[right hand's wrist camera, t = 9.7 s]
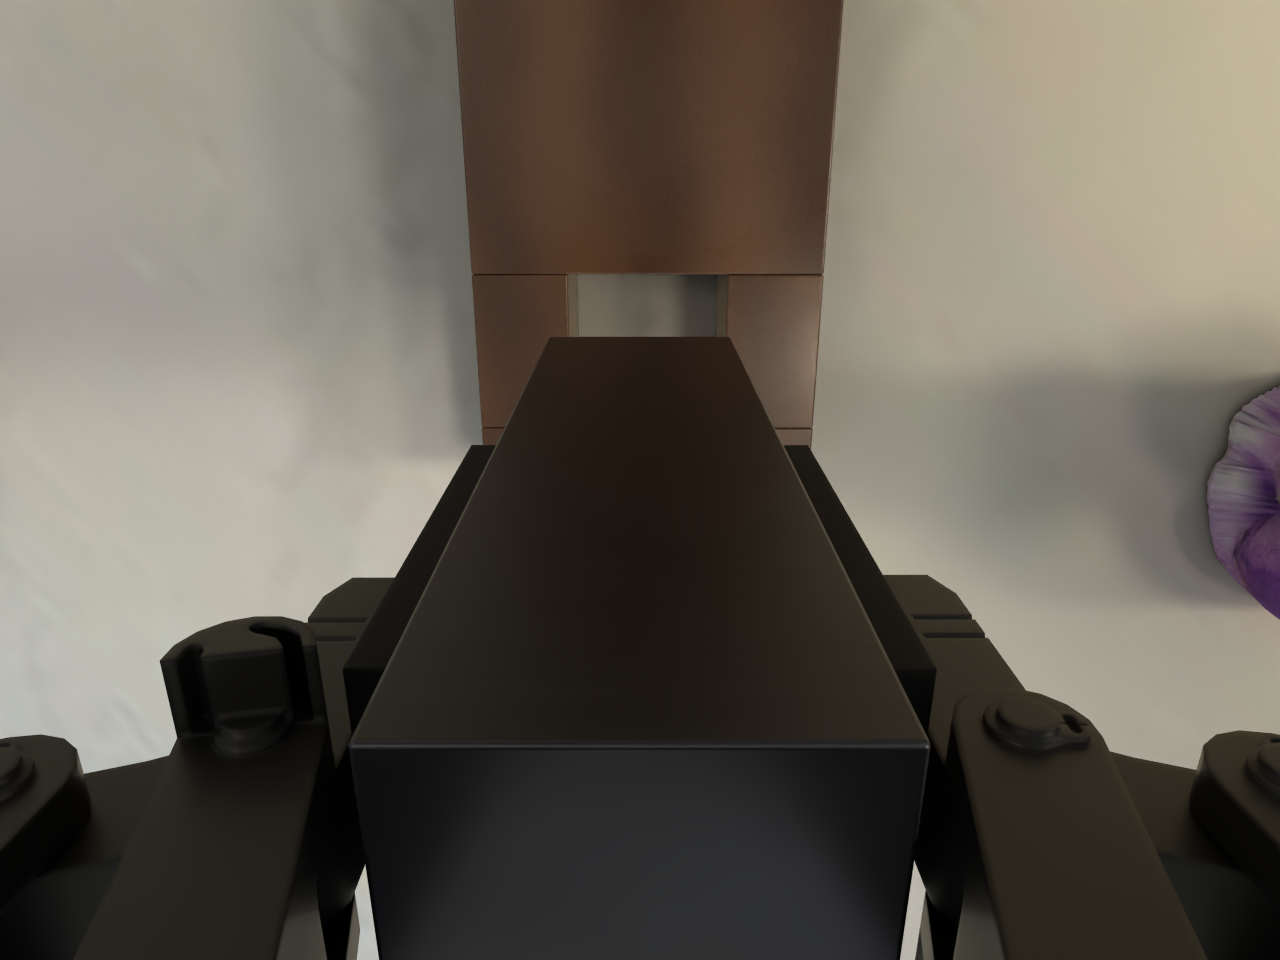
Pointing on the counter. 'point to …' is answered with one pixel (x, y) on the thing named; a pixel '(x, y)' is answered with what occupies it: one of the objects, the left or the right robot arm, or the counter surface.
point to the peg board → (649, 174)
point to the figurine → (1250, 501)
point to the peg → (639, 695)
